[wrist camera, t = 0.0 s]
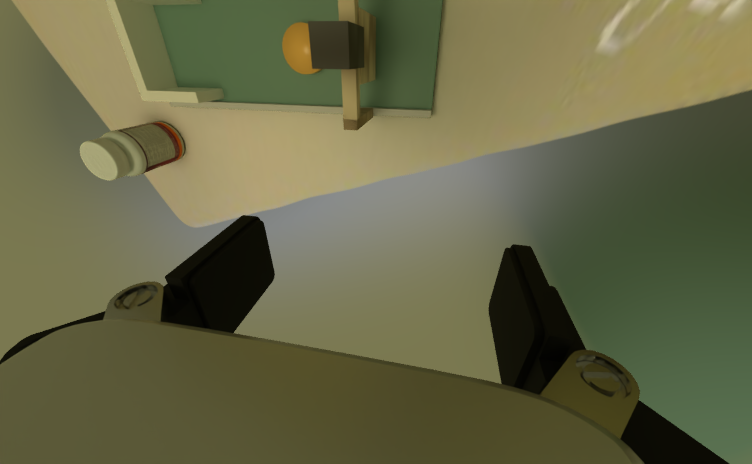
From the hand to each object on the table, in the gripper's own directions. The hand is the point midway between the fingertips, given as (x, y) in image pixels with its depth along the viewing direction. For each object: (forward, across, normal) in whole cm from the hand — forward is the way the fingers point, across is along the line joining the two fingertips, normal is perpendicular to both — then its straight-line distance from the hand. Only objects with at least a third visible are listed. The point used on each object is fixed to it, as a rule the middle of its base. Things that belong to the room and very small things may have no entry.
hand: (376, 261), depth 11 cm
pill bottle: (+31, +40, +5) cm, 51 cm away
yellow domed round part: (+30, +14, -8) cm, 34 cm away
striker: (+29, +7, -7) cm, 31 cm away
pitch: (+31, +17, -8) cm, 36 cm away
